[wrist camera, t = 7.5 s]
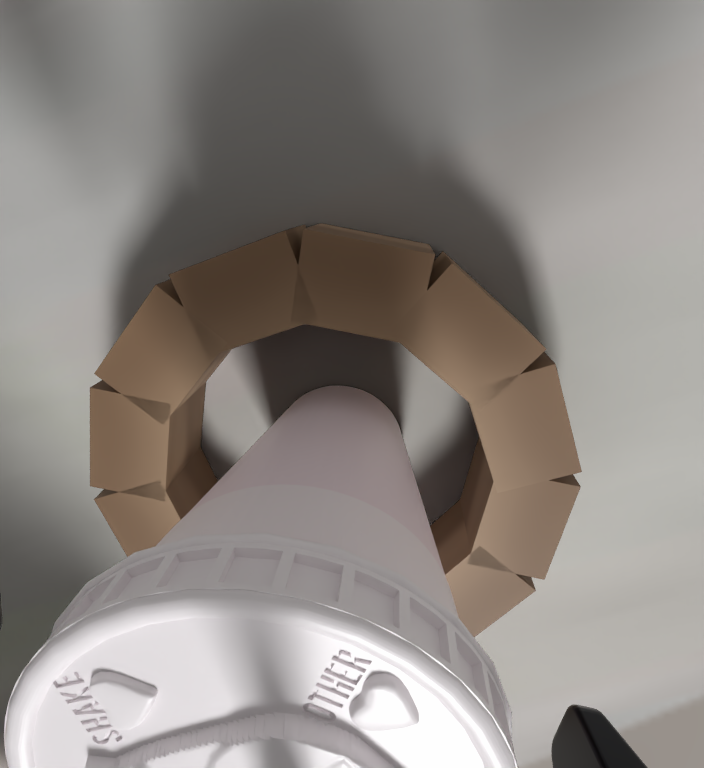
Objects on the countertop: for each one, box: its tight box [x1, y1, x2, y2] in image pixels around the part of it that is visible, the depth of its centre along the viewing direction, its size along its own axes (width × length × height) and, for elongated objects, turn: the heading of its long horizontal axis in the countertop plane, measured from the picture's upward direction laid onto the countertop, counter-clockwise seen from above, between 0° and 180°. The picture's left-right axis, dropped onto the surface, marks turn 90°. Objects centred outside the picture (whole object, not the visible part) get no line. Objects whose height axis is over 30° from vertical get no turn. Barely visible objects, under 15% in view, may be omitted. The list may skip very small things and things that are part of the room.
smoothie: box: [4, 386, 518, 768], centre depth 9 cm, size 6×6×14 cm
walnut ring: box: [90, 223, 582, 637], centre depth 14 cm, size 12×12×2 cm
